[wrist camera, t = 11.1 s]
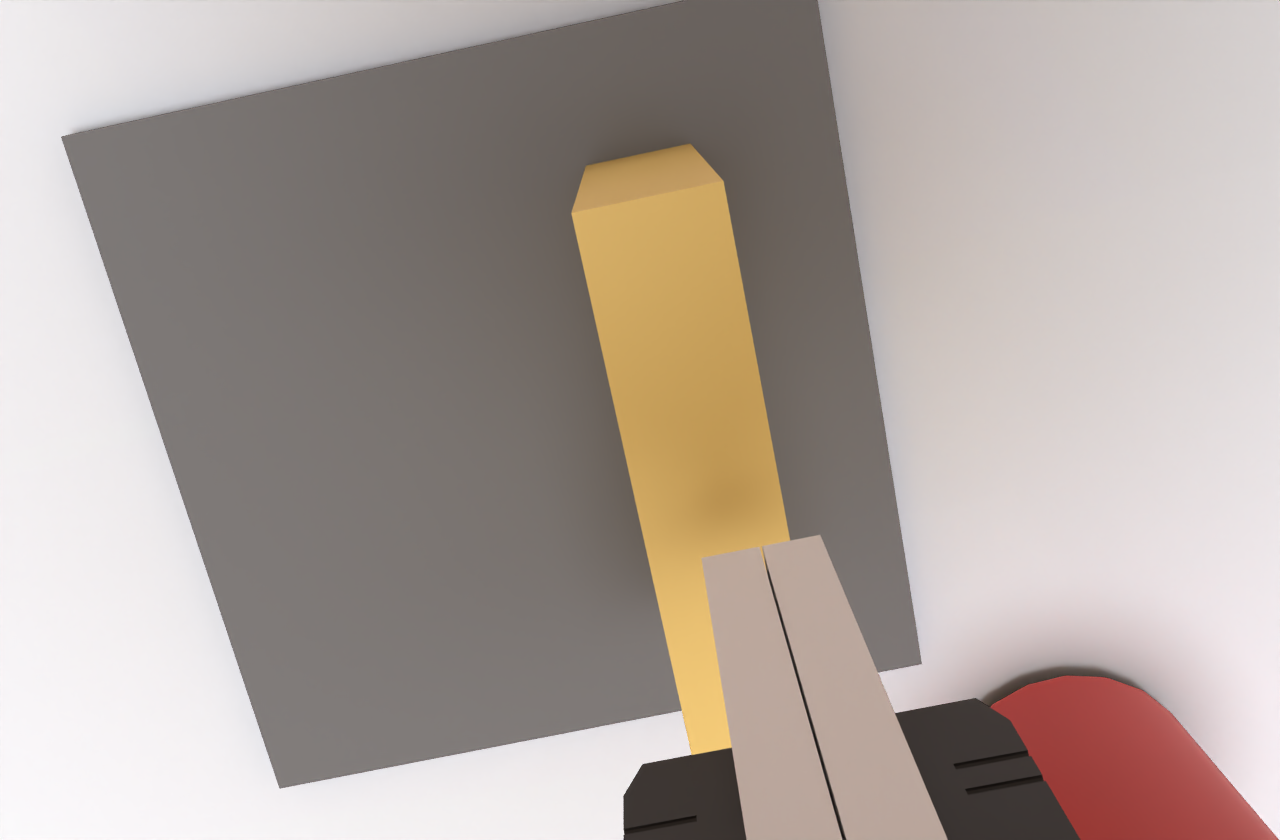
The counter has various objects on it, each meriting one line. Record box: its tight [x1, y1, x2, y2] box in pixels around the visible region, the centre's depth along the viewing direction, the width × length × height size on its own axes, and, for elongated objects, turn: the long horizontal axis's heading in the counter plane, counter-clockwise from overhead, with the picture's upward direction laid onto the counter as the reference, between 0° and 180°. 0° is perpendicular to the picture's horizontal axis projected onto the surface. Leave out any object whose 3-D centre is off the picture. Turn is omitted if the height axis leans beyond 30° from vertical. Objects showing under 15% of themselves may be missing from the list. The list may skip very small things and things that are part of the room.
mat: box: [61, 0, 922, 788], centre depth 29 cm, size 17×17×1 cm
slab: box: [571, 144, 790, 755], centre depth 25 cm, size 11×2×9 cm, turn 12°
